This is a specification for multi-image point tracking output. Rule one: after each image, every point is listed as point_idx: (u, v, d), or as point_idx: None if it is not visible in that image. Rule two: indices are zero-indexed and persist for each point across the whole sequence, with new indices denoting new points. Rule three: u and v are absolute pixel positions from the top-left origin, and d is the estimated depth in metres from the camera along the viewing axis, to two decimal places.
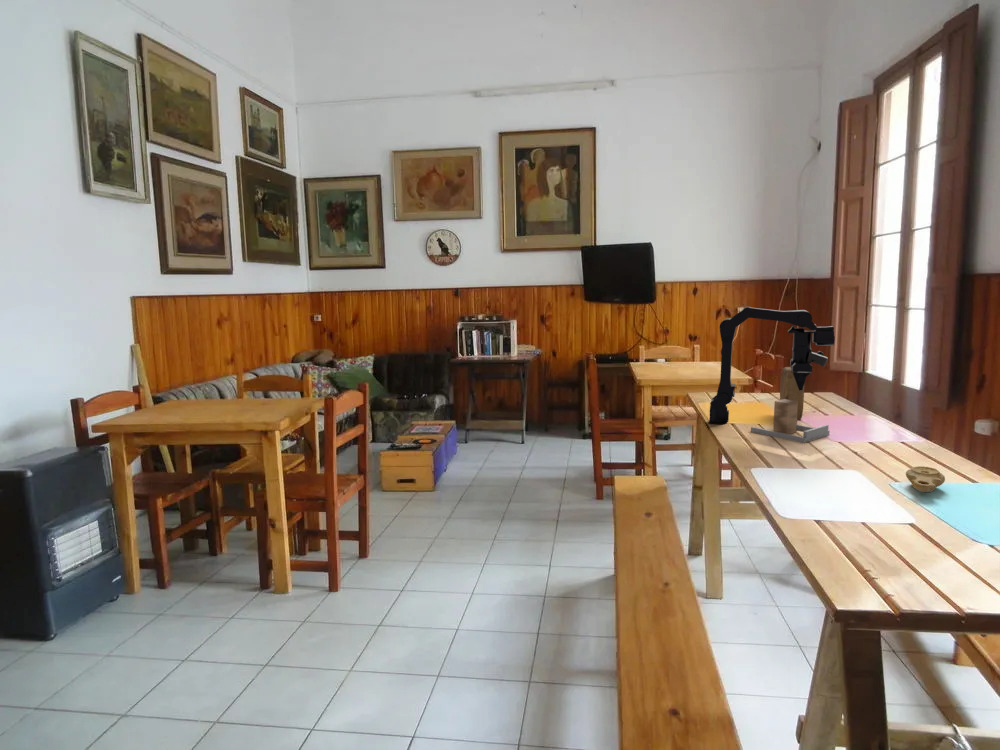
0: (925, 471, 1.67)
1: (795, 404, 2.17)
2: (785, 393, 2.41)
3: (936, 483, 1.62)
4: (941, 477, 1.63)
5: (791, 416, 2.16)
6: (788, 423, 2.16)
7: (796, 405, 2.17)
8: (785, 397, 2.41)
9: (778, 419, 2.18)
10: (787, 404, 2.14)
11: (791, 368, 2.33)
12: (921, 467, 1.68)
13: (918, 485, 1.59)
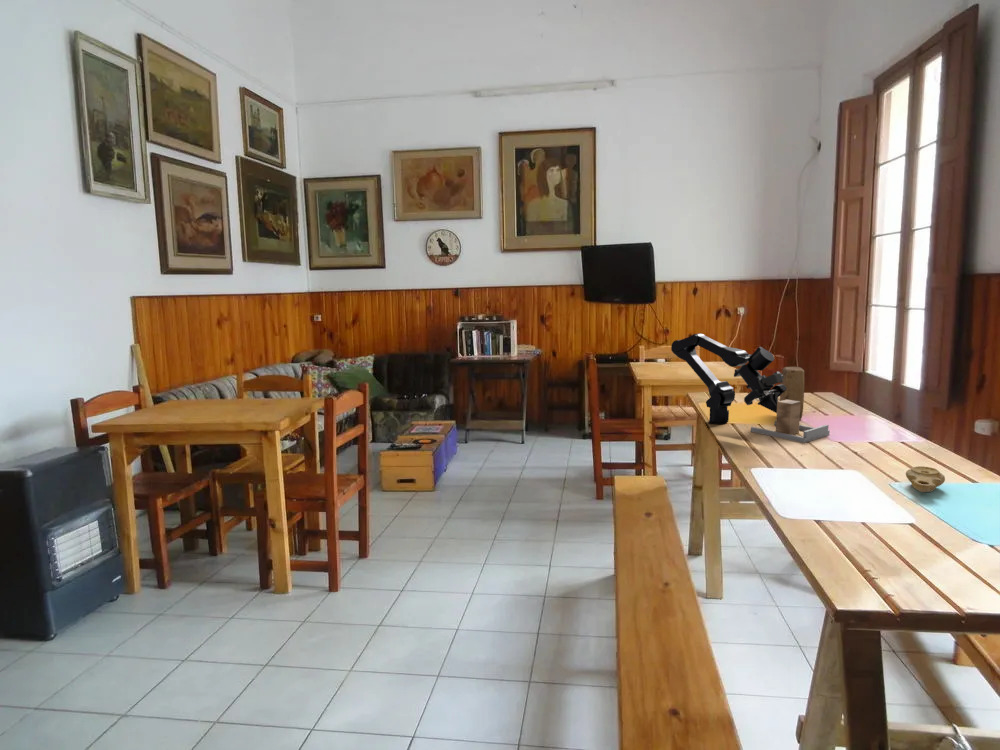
0: (925, 471, 1.67)
1: (798, 404, 2.16)
2: (785, 393, 2.41)
3: (936, 483, 1.62)
4: (941, 477, 1.63)
5: (794, 416, 2.15)
6: (791, 424, 2.15)
7: (799, 406, 2.16)
8: (785, 397, 2.41)
9: (780, 419, 2.17)
10: (790, 404, 2.14)
11: None
12: (921, 467, 1.68)
13: (918, 485, 1.59)
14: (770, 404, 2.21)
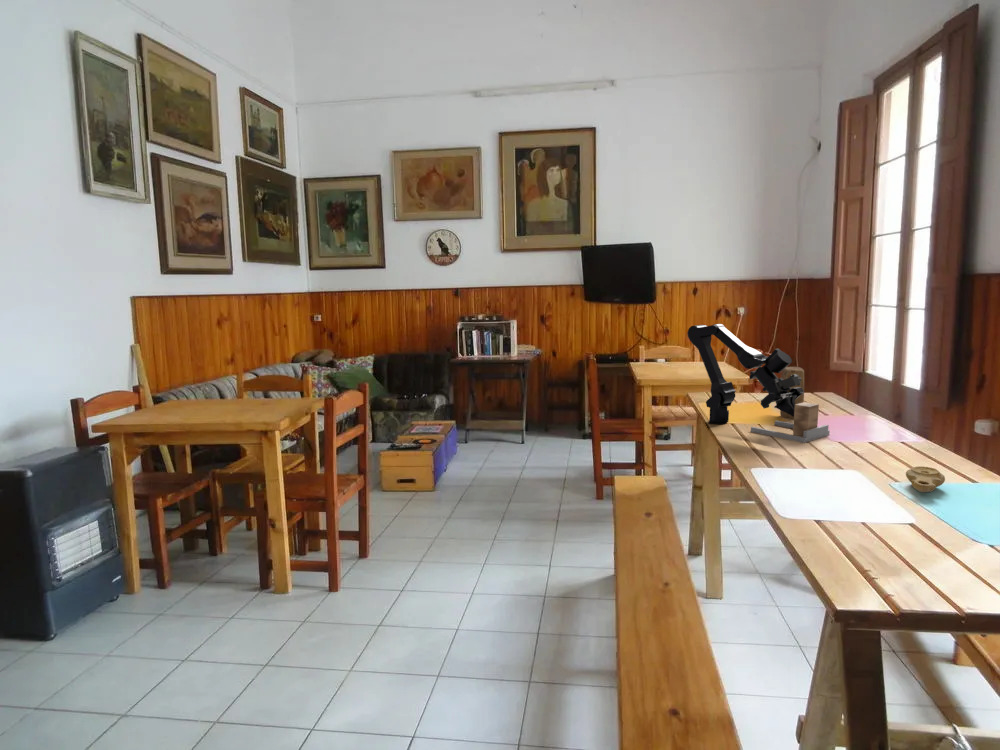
0: (925, 471, 1.67)
1: (816, 407, 2.11)
2: None
3: (936, 483, 1.62)
4: (941, 477, 1.63)
5: (812, 419, 2.10)
6: (809, 427, 2.10)
7: (817, 409, 2.11)
8: None
9: (798, 423, 2.12)
10: (808, 407, 2.08)
11: None
12: (921, 467, 1.68)
13: (918, 485, 1.59)
14: (787, 407, 2.16)
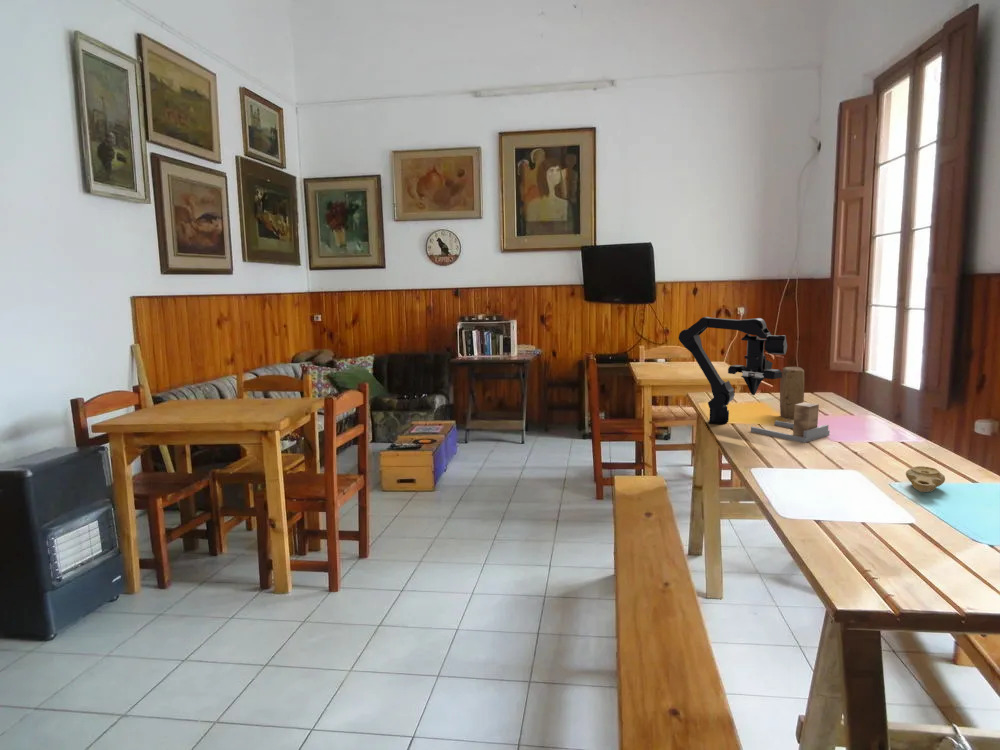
0: (925, 471, 1.67)
1: (816, 407, 2.11)
2: (785, 393, 2.41)
3: (936, 483, 1.62)
4: (941, 477, 1.63)
5: (812, 419, 2.10)
6: (809, 427, 2.10)
7: (817, 409, 2.11)
8: (785, 397, 2.41)
9: (798, 423, 2.12)
10: (808, 407, 2.08)
11: (747, 378, 2.30)
12: (921, 467, 1.68)
13: (918, 485, 1.59)
14: (757, 383, 2.30)
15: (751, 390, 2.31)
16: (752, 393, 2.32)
